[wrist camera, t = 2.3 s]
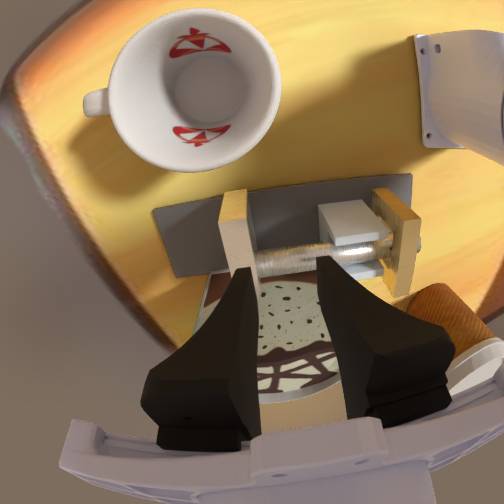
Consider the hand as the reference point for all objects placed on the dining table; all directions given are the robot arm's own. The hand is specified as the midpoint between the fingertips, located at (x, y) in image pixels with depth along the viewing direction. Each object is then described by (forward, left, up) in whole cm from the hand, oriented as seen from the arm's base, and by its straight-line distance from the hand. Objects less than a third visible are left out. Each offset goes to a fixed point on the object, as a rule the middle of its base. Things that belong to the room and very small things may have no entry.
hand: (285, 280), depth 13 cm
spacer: (+3, +8, -6) cm, 11 cm away
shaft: (+2, +3, -9) cm, 10 cm away
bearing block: (+3, +5, -10) cm, 12 cm away
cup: (-9, -4, -11) cm, 14 cm away
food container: (+9, -1, -10) cm, 14 cm away
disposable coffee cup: (+15, +17, -11) cm, 25 cm away
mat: (+3, +1, -10) cm, 11 cm away
